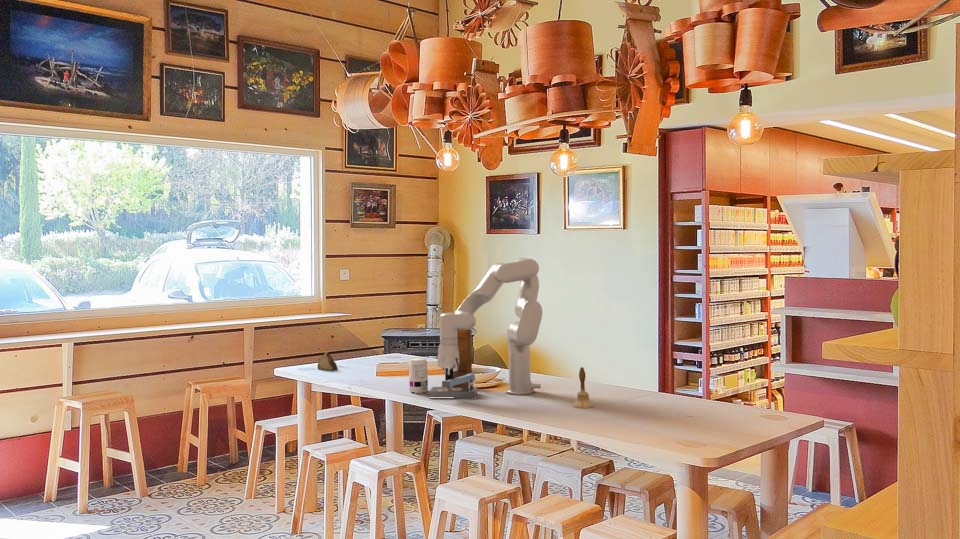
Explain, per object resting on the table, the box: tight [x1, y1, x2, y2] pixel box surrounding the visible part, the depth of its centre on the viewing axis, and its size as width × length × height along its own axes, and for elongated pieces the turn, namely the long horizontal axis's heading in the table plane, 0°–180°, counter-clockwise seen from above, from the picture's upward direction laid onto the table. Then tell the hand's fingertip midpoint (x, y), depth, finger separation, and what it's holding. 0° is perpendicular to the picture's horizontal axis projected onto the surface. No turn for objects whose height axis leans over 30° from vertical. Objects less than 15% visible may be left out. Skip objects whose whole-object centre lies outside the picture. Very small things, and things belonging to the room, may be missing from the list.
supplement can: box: [408, 357, 429, 394], centre depth 353 cm, size 8×8×15 cm
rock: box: [316, 351, 339, 371], centre depth 415 cm, size 11×9×10 cm
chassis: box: [428, 381, 478, 399], centre depth 343 cm, size 20×10×6 cm, turn 85°
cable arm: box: [441, 373, 476, 388], centre depth 339 cm, size 20×4×2 cm, turn 144°
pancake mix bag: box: [452, 329, 473, 387], centre depth 362 cm, size 7×19×28 cm, turn 45°
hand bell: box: [572, 366, 594, 409], centre depth 320 cm, size 8×8×16 cm
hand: (449, 383), depth 338 cm, fingers closed
